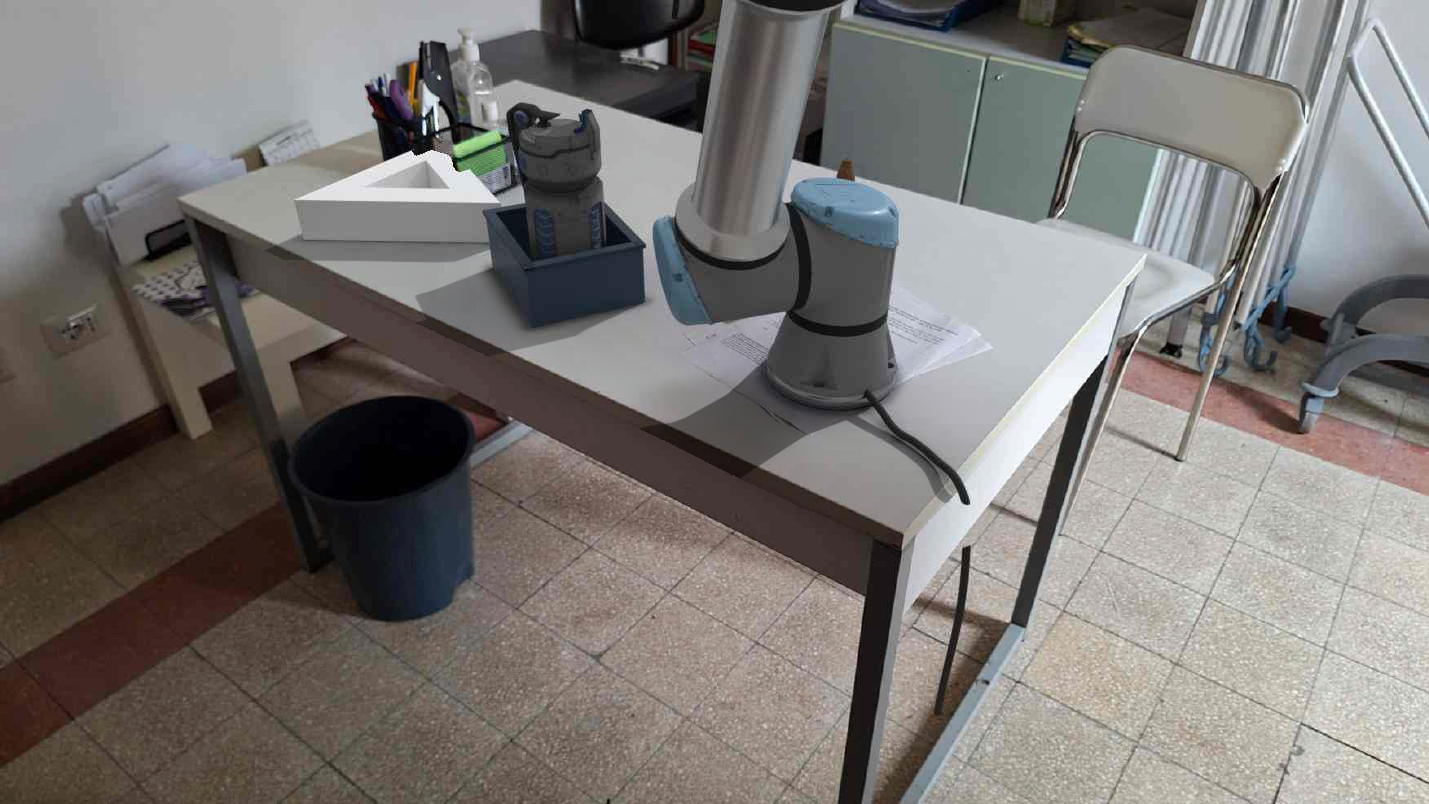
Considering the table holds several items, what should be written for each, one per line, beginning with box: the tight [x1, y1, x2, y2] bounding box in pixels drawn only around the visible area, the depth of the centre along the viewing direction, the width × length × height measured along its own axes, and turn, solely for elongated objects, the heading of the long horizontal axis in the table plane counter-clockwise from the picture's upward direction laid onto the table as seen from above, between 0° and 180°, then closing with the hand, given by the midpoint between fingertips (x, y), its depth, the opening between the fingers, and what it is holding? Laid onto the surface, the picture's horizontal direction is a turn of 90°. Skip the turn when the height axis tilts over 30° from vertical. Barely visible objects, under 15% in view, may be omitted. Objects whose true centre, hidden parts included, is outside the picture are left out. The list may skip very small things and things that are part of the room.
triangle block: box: [293, 150, 502, 244], centre depth 150 cm, size 30×26×6 cm
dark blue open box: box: [483, 201, 647, 328], centre depth 133 cm, size 19×16×9 cm
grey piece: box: [505, 101, 607, 262], centre depth 129 cm, size 10×13×25 cm
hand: (624, 4), depth 129 cm, fingers open, 13 cm apart
